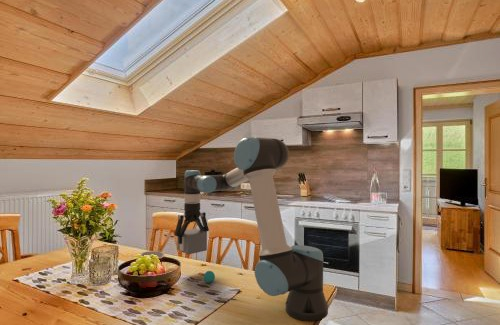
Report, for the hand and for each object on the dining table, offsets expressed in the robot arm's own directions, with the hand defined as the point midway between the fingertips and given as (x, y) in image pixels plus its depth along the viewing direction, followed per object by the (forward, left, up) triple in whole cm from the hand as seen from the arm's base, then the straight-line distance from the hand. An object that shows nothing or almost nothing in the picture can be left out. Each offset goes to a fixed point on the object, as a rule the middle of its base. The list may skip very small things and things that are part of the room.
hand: (192, 248), depth 150 cm
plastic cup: (+4, +18, -12) cm, 22 cm away
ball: (-15, 0, -9) cm, 18 cm away
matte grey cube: (0, 0, -1) cm, 1 cm away
